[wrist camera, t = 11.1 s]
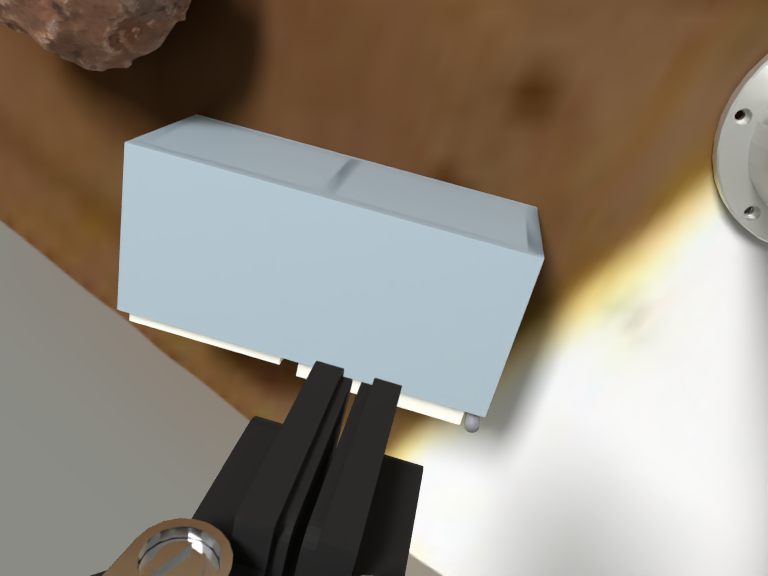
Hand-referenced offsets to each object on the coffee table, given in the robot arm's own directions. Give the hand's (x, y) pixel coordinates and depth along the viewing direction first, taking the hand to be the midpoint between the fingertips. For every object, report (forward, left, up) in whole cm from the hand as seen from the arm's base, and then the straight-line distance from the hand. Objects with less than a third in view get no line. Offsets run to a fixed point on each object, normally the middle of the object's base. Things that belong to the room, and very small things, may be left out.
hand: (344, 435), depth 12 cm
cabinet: (+5, +8, -29) cm, 31 cm away
